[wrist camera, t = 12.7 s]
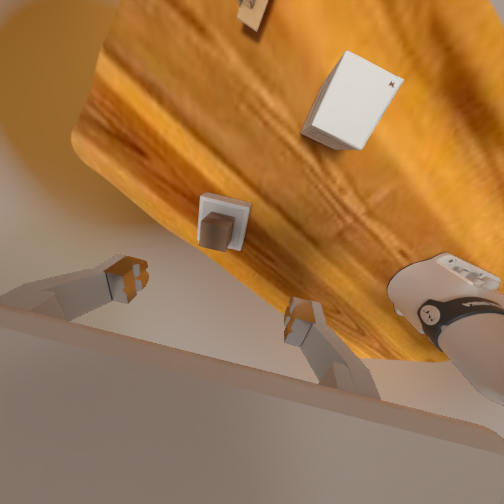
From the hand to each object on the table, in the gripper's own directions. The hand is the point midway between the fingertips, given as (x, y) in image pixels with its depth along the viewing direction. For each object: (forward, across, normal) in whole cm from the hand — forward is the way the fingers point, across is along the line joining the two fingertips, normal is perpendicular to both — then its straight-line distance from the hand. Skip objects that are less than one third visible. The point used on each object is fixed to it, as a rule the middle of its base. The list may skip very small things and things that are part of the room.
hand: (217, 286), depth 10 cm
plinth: (+32, +7, +8) cm, 34 cm away
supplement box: (+33, -8, -13) cm, 37 cm away
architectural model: (+33, +7, -25) cm, 42 cm away
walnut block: (+28, +7, +8) cm, 30 cm away
